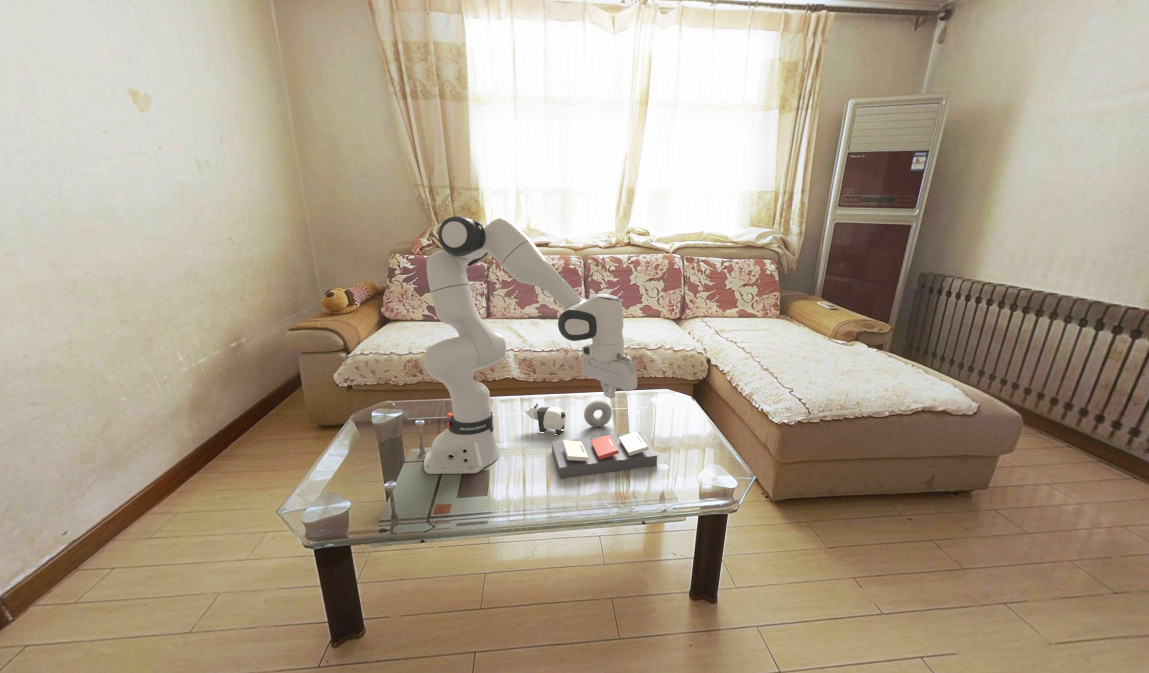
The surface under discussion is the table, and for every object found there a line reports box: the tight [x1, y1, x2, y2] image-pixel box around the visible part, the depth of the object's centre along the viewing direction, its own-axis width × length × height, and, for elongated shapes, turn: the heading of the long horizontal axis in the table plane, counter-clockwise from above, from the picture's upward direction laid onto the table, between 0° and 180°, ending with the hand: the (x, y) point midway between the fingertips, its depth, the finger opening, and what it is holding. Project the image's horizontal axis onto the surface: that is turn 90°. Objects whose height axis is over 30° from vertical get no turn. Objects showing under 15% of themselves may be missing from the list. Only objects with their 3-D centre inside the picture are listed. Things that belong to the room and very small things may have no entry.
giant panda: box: [524, 402, 566, 436], centre depth 145 cm, size 15×6×10 cm, turn 72°
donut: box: [583, 399, 613, 428], centre depth 148 cm, size 10×4×10 cm, turn 101°
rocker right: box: [619, 431, 648, 456], centre depth 127 cm, size 6×10×1 cm, turn 12°
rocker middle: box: [591, 434, 619, 460], centre depth 125 cm, size 6×10×1 cm, turn 12°
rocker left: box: [561, 439, 589, 461], centre depth 123 cm, size 6×10×1 cm, turn 11°
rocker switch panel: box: [551, 431, 658, 480], centre depth 128 cm, size 29×15×4 cm, turn 101°
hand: (609, 396), depth 122 cm, fingers closed
